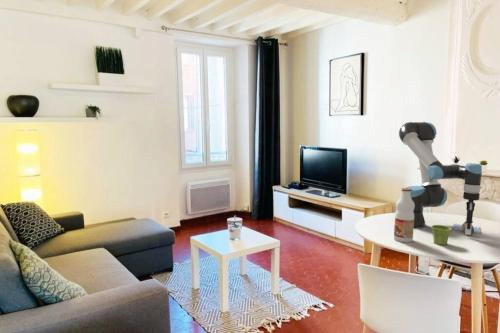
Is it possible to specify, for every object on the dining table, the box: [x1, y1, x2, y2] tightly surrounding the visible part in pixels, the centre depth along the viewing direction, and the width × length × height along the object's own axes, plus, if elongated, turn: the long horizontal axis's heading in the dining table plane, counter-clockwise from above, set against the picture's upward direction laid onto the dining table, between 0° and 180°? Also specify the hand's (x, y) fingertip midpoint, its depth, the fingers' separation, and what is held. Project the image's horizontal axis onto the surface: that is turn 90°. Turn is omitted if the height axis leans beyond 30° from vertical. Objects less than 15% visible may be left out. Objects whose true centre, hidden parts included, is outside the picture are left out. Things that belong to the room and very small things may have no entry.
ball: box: [462, 226, 474, 236], centre depth 208 cm, size 6×6×6 cm
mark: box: [452, 223, 482, 234], centre depth 221 cm, size 14×14×1 cm
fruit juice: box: [393, 187, 415, 243], centre depth 197 cm, size 9×9×28 cm
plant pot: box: [431, 224, 452, 246], centre depth 193 cm, size 9×9×9 cm
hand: (467, 234), depth 204 cm, fingers closed
